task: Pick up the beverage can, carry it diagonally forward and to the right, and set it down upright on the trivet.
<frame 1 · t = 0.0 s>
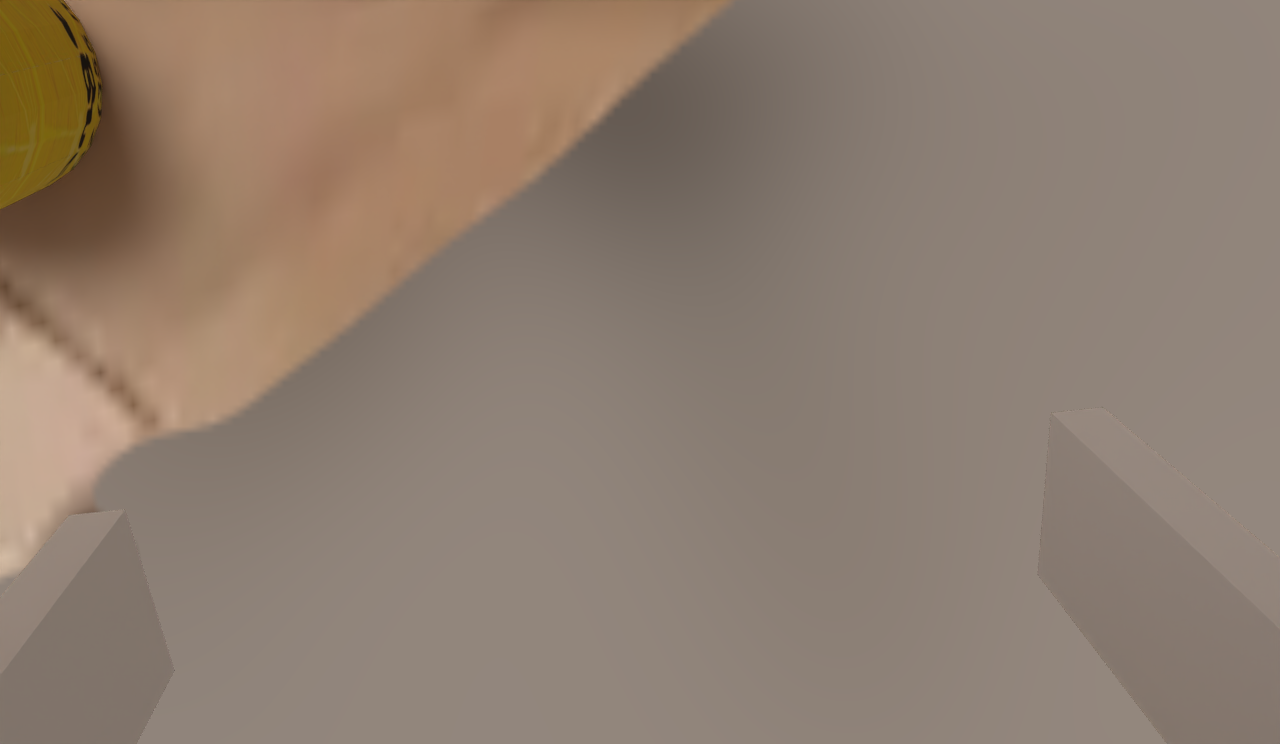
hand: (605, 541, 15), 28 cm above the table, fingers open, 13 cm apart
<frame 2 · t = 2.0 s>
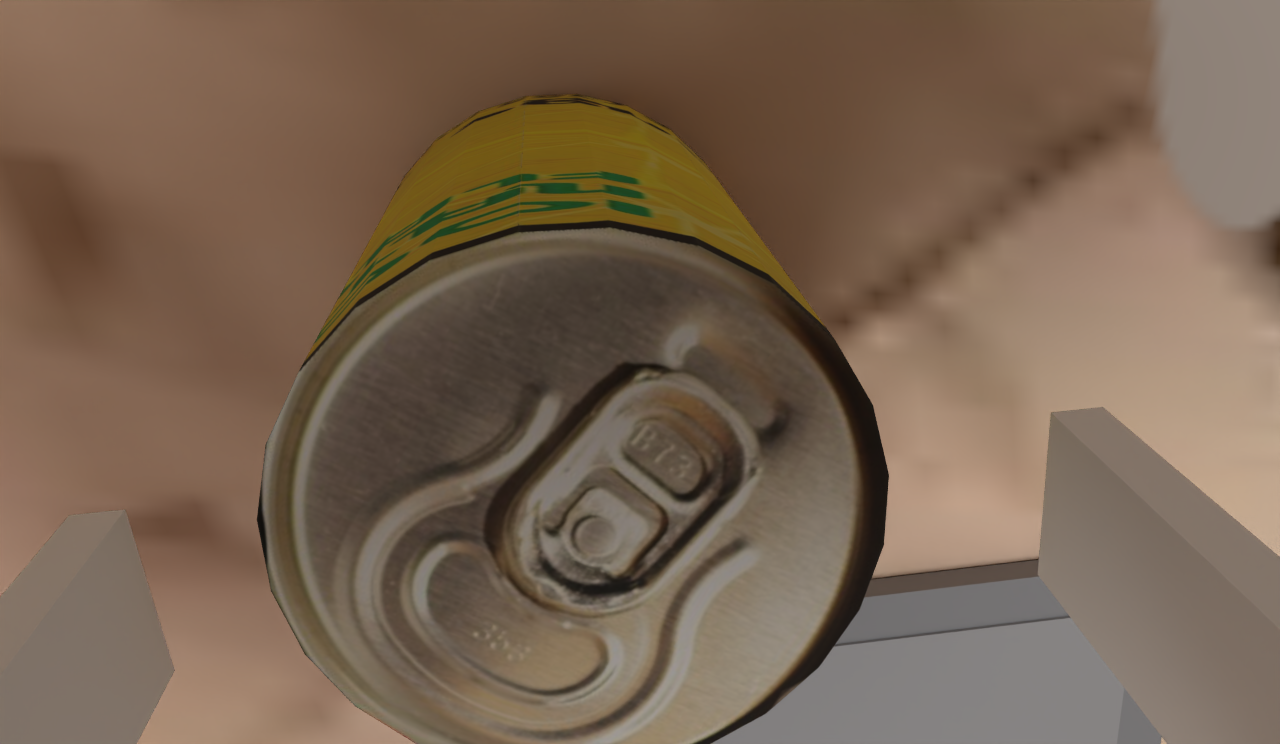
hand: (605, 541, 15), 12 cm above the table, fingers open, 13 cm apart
beverage can: (562, 276, 26), on the table
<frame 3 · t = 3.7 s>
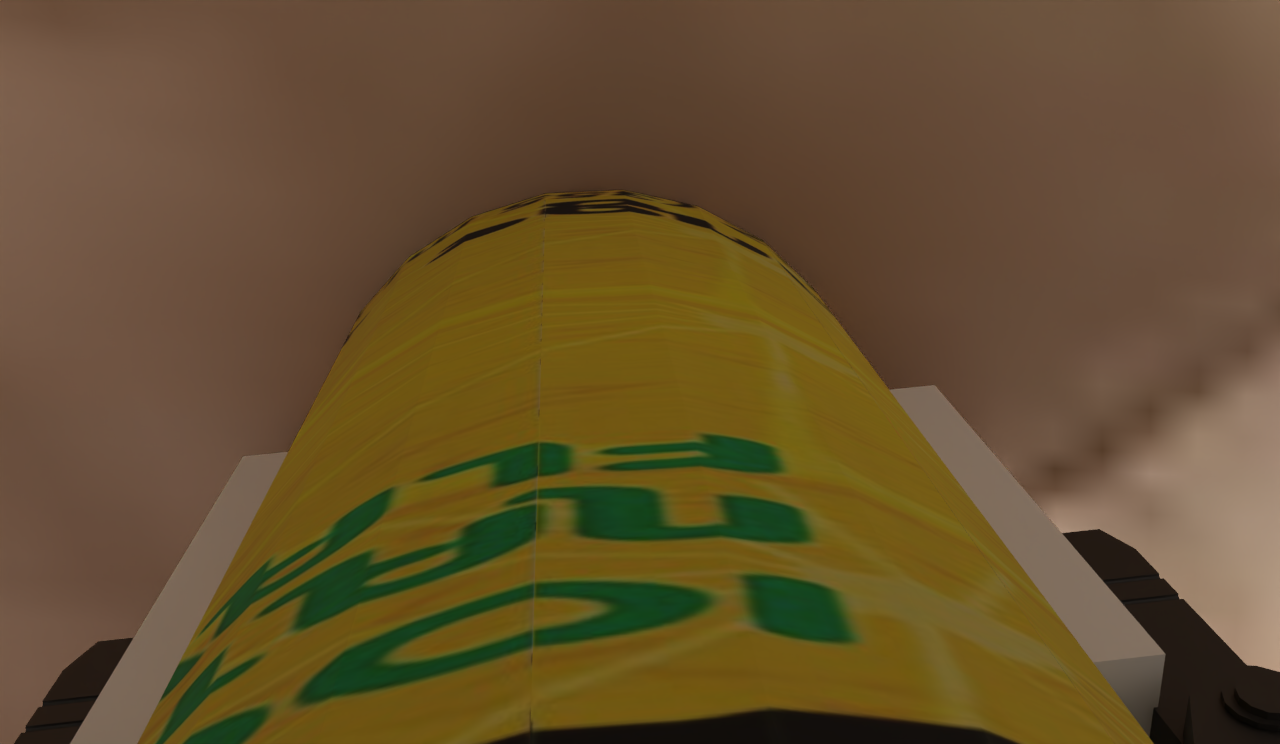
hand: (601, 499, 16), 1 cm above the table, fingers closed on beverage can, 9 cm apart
beverage can: (597, 449, 18), on the table, touching gripper
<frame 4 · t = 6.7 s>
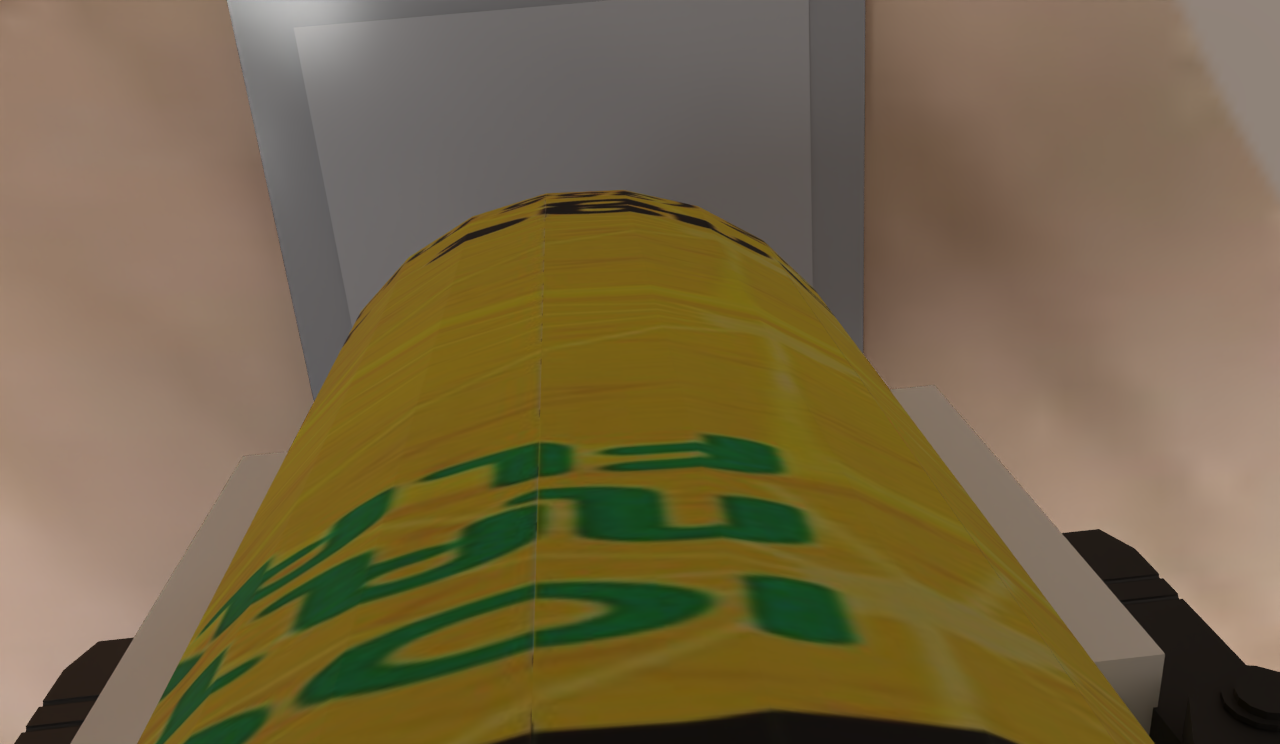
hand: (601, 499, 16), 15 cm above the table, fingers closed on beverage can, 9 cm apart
trivet: (578, 244, 30), on the table
beverage can: (597, 449, 18), point 13 cm above the table, touching gripper
when the fingers open (3 cm above the table, at t = 9.5 s): beverage can stays where it is, resting on trivet.
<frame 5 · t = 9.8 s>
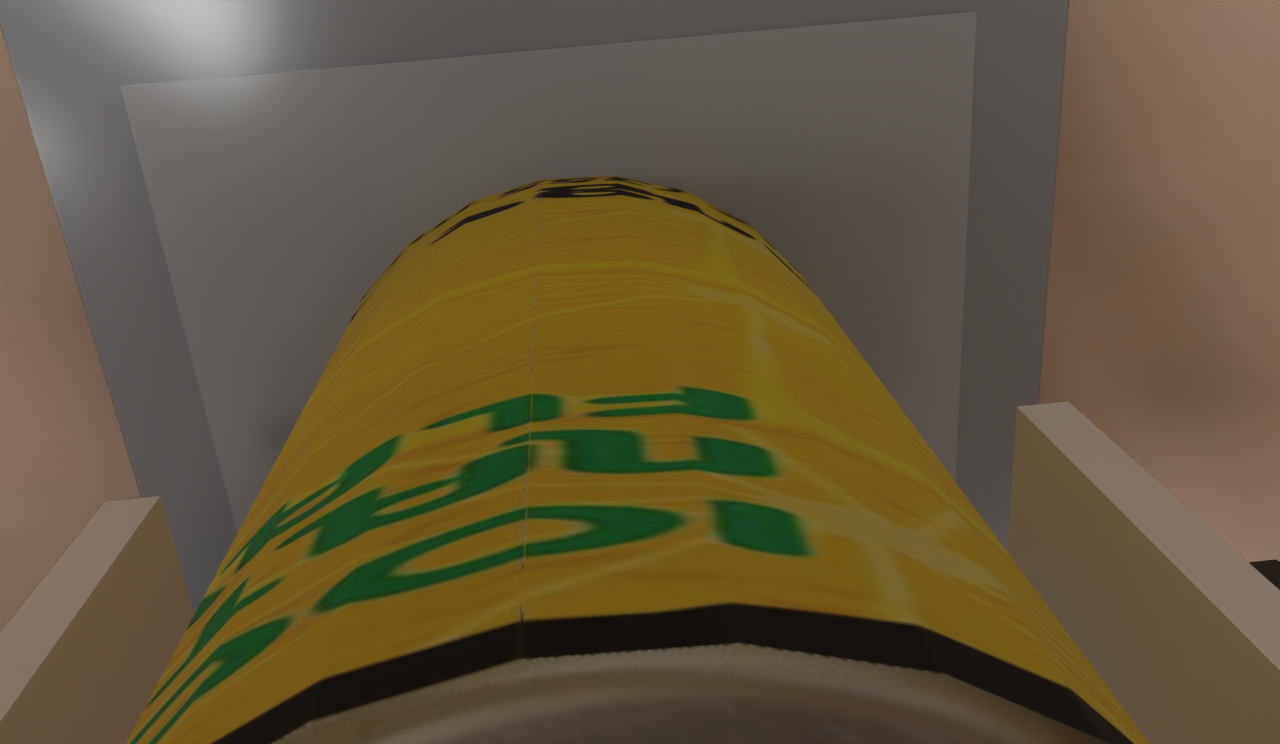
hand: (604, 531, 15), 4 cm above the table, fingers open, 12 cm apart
trivet: (593, 411, 19), on the table
beverage can: (591, 425, 19), point 1 cm above the table, touching trivet
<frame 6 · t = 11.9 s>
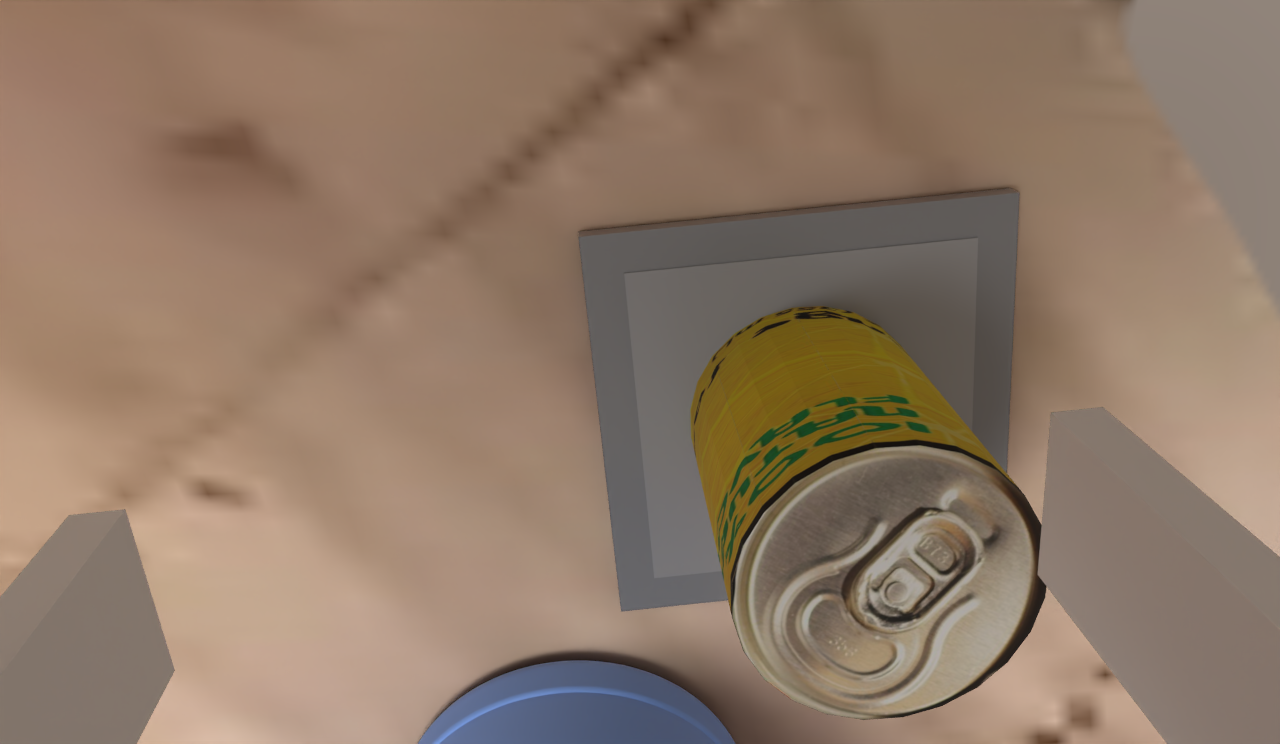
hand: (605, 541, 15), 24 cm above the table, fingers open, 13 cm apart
trivet: (802, 408, 41), on the table
beverage can: (804, 414, 41), point 1 cm above the table, touching trivet
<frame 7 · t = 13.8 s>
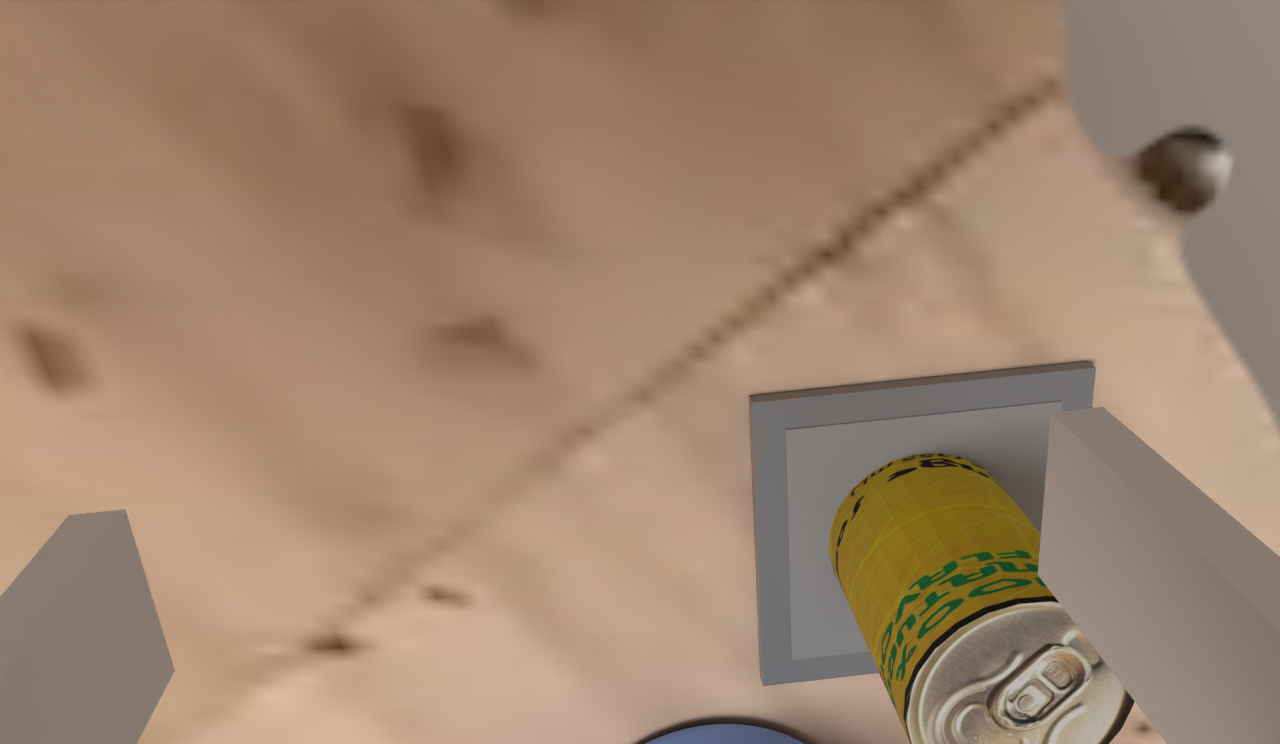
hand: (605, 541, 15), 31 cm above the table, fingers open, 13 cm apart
trivet: (915, 526, 52), on the table
beverage can: (918, 533, 51), point 1 cm above the table, touching trivet
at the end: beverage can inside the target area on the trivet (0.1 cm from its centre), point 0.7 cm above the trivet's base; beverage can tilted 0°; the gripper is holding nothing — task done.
